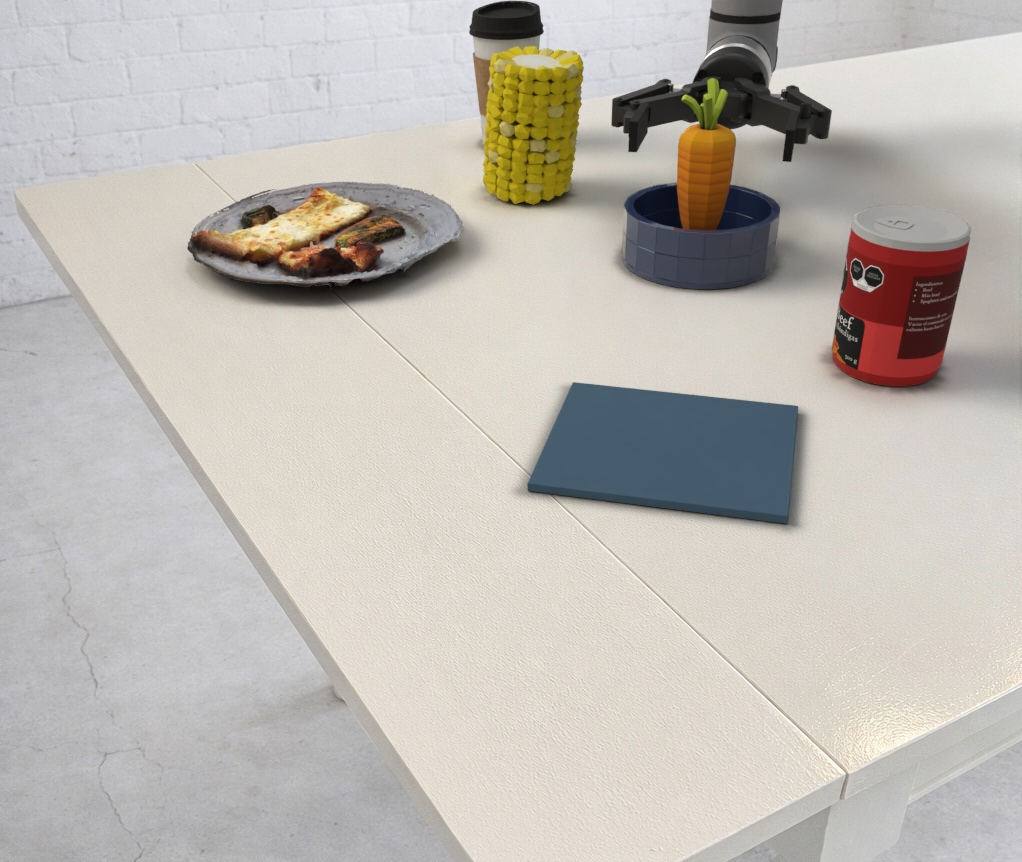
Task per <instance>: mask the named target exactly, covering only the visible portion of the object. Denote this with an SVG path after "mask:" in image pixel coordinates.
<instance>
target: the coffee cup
mask: <svg viewBox="0 0 1022 862" xmlns="http://www.w3.org/2000/svg"><path fill="white" fill-rule="evenodd" d="M471 15H472V16H471V23H470V25H469V31H468V34H469V35H470V36H472V41H473V42H472V43H473V53H472V58H473V59H472V60H473V67H474V77H475V84H476V85H475V86H476V94H477V102H478V109H479V111H478V112H479V116H480V126H481V127H480V128H481V137H482V144H483V147H484V146H485V145H484V141H485V138H486V134H485V124H486V123H487V120H486V114H487V110H486V108H487V106H486V105H487V102H488V100H487V96H488V91H489V89H490V88H489V86H488V82H489V80H490V71H489V67H490V62H491V56H492V55H493V54H494V53H502V52H503V51H507V52H508V50H509V49H511V48H513V47H516V46H518V47H519V48H520V49H522V50H523V49H524V48H525V47H529V46H536V47H537V48H538V50H539V51H540V45H541V44H540V43H541V35H543V34H544V32H545V31H544V24H543V22H542V17H541V7H540V5H539V4H538V3H536V2H532V1H527V0H501V1H495V2H492V3H488V4H485V5H482V6H480V7H477V8H475V9H474V10H473V11H472V14H471Z"/></svg>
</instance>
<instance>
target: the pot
mask: <svg viewBox="0 0 1022 862" xmlns="http://www.w3.org/2000/svg"><path fill="white" fill-rule="evenodd" d="M781 210H782V208H781V206H780V205H779V204H778V203H777V201H776V200H775V199H774V198H772V197H770V196H769V195H767V194H765V193H763V192H762V191H758V190H755V189H751V188H748V187H745V186H741V185H735V184H730V189H729V192H728V196H727V200H726V204H725V207H724V210H723V214H722V217H721V220H720V222H719V224H718V227H717V229H716V230H705V231H704V230H691V229H683V226H682V223H681V218H680V211H679V204H678V193H677V181H676V182H669V183H663V184H656V185H652V186H649V187H646V188H642V189H639V190H637V191H636V192H634V193H633V194H631V195H629V196H627V198H626V200H625V202H624V203H623V211H622V212H623V216H622V220H623V221H622V238H621V241H622V242H621V254H622V256H621V257H622V263H623V265H624V266H625V268H626V270H627V269H628V271H630V272H631V273H632V274H634V275H635V276H637V277H640V278H641V279H644V280H646V281H650V282H652V283H655V284H659V285H663V286H667V287H671V288H678V289H679V288H680V289H686V290H687V289H689V290H722V289H732V288H738V287H741V286H747V285H750V284H754V283H756V282H758V281H760V280H762V279H764V278H765V277H767V276H768V275H769V274H770V273H771V272H772V270H773V269H774V265H775V258H776V252H777V243H778V235H779V226H780V219H781Z"/></svg>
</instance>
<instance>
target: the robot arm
mask: <svg viewBox="0 0 1022 862" xmlns="http://www.w3.org/2000/svg"><path fill="white" fill-rule="evenodd" d="M783 1H784V0H711V3H710V4H711V6H710V9H709V12H710V13H709V17H708V26H707V27H708V28H707V38H706V39H707V40H706V41H707V42H706V51H705V56H704V57H703V59H702V61H701V62H700V65H699V68H698V69H697V71H696V73H695V75H694V78H693V80H692V82H691V83H685V84H684V85H683V86H682V87H681V88H675V87H674V86H675V85H674V83H673V82H672V80H671V79H670V78H669V79H668V78H662V79H660V80H658V81H657V82H656V83H655V84H652V85H648V86H646V87H643V88H639V89H637V90H634V91H631V92H629V93H625V94H622V95H619V96H616V97H613V98H612V101H611V127H614V128H621V127H622V131H623V132H622V133H623V134H627V135H628V147H627V148H628V149H627V150H628V151H627V152H628V153H638V151H639V149H640V147H641V145H642V143H643V142H644V140H645V138H646V136H647V135H648V131H649V128H653V127H658V126H662V125H666V124H671V123H675V122H679V121H682V122H686V123H689V124H694V123H697V122H698V123H699V121H698V118H697V116H696V114H695V113H694V111H693V110H692V109H691V107H690V106H689V105H687V104H686V103H684V102H683V101H682V97H683V96H684V95H688V96H691V97H692V98H694V99H695V100H696V101H697V103H698V104H699V106H700V105H701V104H702V103H703V95H705V94H708V85H707V80H709V79H712V78H713V79H717V80H718V82H719V93H720V91H721V89H724V90H726V92H727V93H728V96H727V99H726V102H725V104H724V106H723V109H722V111H721V113H720V115H719V117H718V119H717V124H720V125H722V126H724V127H726V128H728V129H730V130H736V129H740V128H742V127H744V126H750V127H752V128H753V127H759V126H763V127H766V128H769V129H771V130H773V131H776V132H779V133H781V134H783V135H784V145H783V146H784V147H783V151H782V162H785V163H786V162H787V163H792V159H793V154H794V148H795V145H806V144H808V140H809V136H810V135H811V136H812V137H814V138H815V139H818V140H827V139H828V138H829V134H830V128H831V120H832V113H833V109H831V108H829V107H827V106H825V105H824V104H822V103H820V102H819V101H817V100H815V99H813V98H812V97H810V96H808V95H806V94H805V93H803V92H801V91H800V88H799V86H796V85H795V84H791V85H787V86H786V87H785V88H783V89H781V92H780V93H771V90H770V84H771V82H772V81H771V80H772V77H773V73H774V72H776V67H777V63H778V54H779V46H778V39H779V30H780V22H781V15H782V8H783Z"/></svg>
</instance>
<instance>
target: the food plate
mask: <svg viewBox="0 0 1022 862" xmlns="http://www.w3.org/2000/svg"><path fill="white" fill-rule="evenodd" d="M463 232H464V225H463V220H461V218H460V216H459V215H458V214H457V212H456V210H455V209H454V208H453V207H452V205H451V204H449V203H447V202H446V201H444V200H443V199H440V198H439V197H437V196H435V195H434V193H432V194H430V193H428V192H426V193H425V191H423V190H419V189H416V188H415V189H413V188H411V187H410V188H409V187H403V186H402V187H401V186H398V184H396V185H395V184H391V183H384V182H374V183H373V182H362V181H361V182H360V181H330V182H329V181H328V182H323V181H322V182H317V183H308V184H301V185H298V186H292V187H288V188H281V189H277V188H276V189H275V188H273V189H267V190H263V191H260V192H258V193H254V194H252V195H249V196H247V197H245V198H242V199H240V200H239V201H235V202H234V203H232V204H230V205H227V206H225V207H223V208H222V209H220V210H219V209H218V210H217V211H216V212H213V213H211V214H210V215H207V216H206V217H204V218H203V219H202V220H200V221H199V222H198V223H197V224H196V225H195V226H194V228H193V230H192V231H191V235H190V238H189V241H187V247H186V249H187V251H188V253H190V254H191V255H192V257H193V261H195V262H196V263H199V264H202V265H203V266H204V267H206V268H208V269H210V270H212V271H215V272H216V273H219V274H223V275H224V276H225V277H228V278H229V279H231V280H232V281H233V280H237V281H240V282H241V281H242V282H248V283H250V284H265V285H271V284H272V285H277V284H278V285H290V286H294V287H302V288H308V287H312V286H316V287H321V286H327V285H328V286H329V290H330V291H331V290H333V285H332V284H331V283H334V285H335V286H340V287H342V286H343V287H344V286H346V285H347V286H348V284H349V283H350V282H352V281H353V280H357V279H360V280H361V282H362V283H363V282H369V281H372V280H374V279H377V278H380V277H382V276H385V275H390V274H395V273H396V272H397V270H402V271H403V272H406V271H407V270H408V269H409V268H410V267H412V266H413V265H414V264H415V263H416V262H419V261H421V260H422V259H423V258H424V257H426V256H429V255H431V254H432V253H436V252H437V251H438V250H439V248H442V247H444V246H445V244H447V243H449V242H452V243H454V242H455V243H456V242H458V241H459V240H460V237H462V235H463V234H464V233H463Z"/></svg>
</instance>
